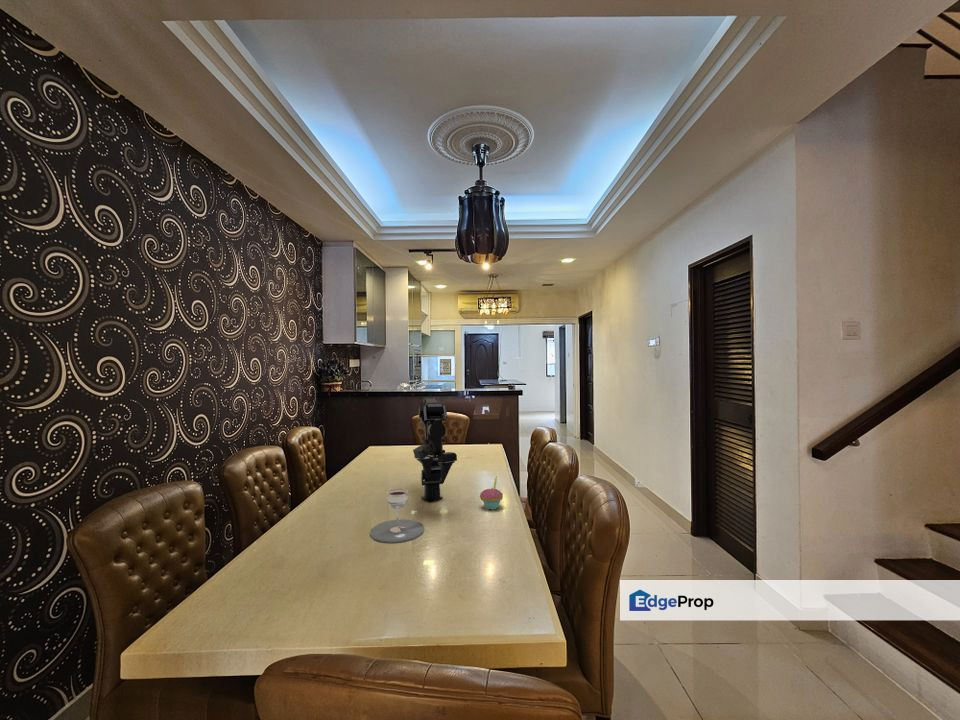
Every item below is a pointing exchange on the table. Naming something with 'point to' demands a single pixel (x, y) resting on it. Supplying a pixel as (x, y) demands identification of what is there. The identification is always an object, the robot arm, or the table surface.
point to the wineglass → (397, 504)
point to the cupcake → (491, 497)
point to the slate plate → (386, 536)
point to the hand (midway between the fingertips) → (435, 479)
